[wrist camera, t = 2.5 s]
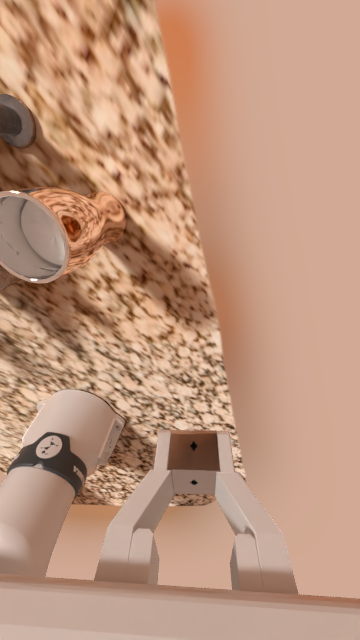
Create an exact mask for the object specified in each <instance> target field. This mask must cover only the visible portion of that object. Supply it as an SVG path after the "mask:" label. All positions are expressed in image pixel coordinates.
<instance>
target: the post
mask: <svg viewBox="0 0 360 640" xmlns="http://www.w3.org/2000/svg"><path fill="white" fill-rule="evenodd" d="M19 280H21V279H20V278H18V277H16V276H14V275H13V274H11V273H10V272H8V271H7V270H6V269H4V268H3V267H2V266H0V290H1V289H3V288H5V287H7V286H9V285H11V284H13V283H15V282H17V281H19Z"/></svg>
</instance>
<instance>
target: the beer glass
mask: <svg viewBox="0 0 360 640" xmlns="http://www.w3.org/2000/svg"><path fill="white" fill-rule="evenodd" d="M125 227H126V216H125V212H124V210H123V207H122V206H121V204H120V203H119V202H118V200H117V199H116V198H114V197H113V196H112V195H110V194H108V193H105V192H100V191H97V192H92V193H90V194H88V195H87V196H85V195H83V194H80V193H77V192H74V191H71V190H67V189H62V188H55V187H34V188H25V189H19V190H12V191H11V190H7V191H1V192H0V265H1V266H2V267H3V268H4V269H6V270H7V271H8V272H10V273H11V274H13V275H14V276H16V277H18V278H20V279H22V280H25V281H28V282H32V283H48V282H51V281H54V280H56V279H57V278H59V277H61V276H64V275H66V274H68V273H70V272H73V271H75V270H76V269H78V268H80V267H82V266H83V265H85V264H86V263H87V262H89V261H90V260H91V259H92V258H93V257H94V256H95V255H96V254H97V253H98V252H99V250H100V249H101V248H102V246H103V245H104V244H105V243H112V242H114V241H116V240H118V239H119V238H120V237H121V236H122V234H123V233H124V230H125Z"/></svg>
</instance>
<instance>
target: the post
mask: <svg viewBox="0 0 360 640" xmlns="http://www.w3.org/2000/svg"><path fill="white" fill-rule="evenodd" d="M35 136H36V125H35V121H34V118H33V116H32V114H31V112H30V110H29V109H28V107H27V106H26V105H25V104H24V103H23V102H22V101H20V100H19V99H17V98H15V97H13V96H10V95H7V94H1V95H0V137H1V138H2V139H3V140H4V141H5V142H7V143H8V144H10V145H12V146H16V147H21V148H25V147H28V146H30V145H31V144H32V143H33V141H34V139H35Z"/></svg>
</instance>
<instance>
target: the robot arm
mask: <svg viewBox="0 0 360 640" xmlns="http://www.w3.org/2000/svg"><path fill="white" fill-rule="evenodd" d="M37 410H38V412H39V413H38V414H37V416H36V417H35V419H34V420H33V422H32V424H31V425H30V427H29V428H28V430H27V432H26V433H25V435H24V436H23V438H22V442H23V446H24V447H23V448H22V449H21V451H20V452H19V454H18V455H17V456H16V457H15V458H14V460H13V461H12V463H11V465H10V467H9V469H8V470H7V476H6V477H5V479H4V481H3V482H2V483H1V485H0V640H360V599H355V598H342V597H326V596H312V595H298V591H297V587H296V583H295V579H294V575H293V571H292V568H291V563H290V559H289V555H288V552H287V548H286V544H285V539H284V535H283V534H282V532H281V531H280V530H279V528H278V527H277V525H276V524H275V523H274V521H273V520H272V518H271V517H270V516H269V514H268V513H267V511H266V510H265V509H264V507H263V506H262V505H261V503H260V502H259V500H258V499H257V497H256V496H255V495H254V493H253V492H252V491H251V489H250V488H249V486H248V485H247V484H246V482H245V481H244V479H243V478H242V477H241V475H240V474H239V472H235V470H234V463H233V456H232V449H231V442H230V434H229V432H228V431H203V430H194V431H187V430H160V431H159V435H158V442H157V449H156V456H155V463H154V469H150V470H149V471H148V473H147V474H146V475H145V477H144V478H143V480H142V481H141V482H140V484H139V485H138V486H137V488H136V489H135V490H134V492H133V493H132V494H131V496H130V497H129V498H128V500H127V501H126V502H125V504H124V505H123V506H122V508H121V509H120V510H119V512H118V513H117V514H116V516H115V517H114V518H113V520H112V521H111V522H110V524H109V525H108V528H107V532H106V536H105V540H104V544H103V548H102V552H101V555H100V560H99V564H98V567H97V571H96V575H95V579H94V581H92V580H78V579H64V578H49V577H45V576H46V572H47V568H48V564H49V561H50V558H51V555H52V552H53V549H54V546H55V544H56V541H57V538H58V536H59V533H60V531H61V528H62V526H63V523H64V520H65V518H66V515H67V513H68V511H69V508H70V506H71V504H72V501H73V499H75V498H76V497H77V495H78V493H79V492H80V491H81V489H82V487H83V485H84V482H85V480H86V478H87V476H89V475H91V474H93V473H94V472H95V470H96V467H97V465H98V464H101V465H104V466H106V463H107V460H108V458H109V457H110V456H111V454H112V452H113V450H114V447H115V445H116V443H117V441H118V438H119V436H120V434H121V431H122V429H123V427H124V424H125V420H124V419H123V418H122V417H121V416H119V415H117V414H116V413H115V412H114V411H113V410H112V409H111V408H110V406H109V405H108V404H107V403H105V402H104V401H103V400H102V399H100V398H99V397H97V396H95V395H93V394H91V393H88V392H85V391H81V390H73V389H68V390H62V391H59V392H57V393H55V394H54V395H52V396H51V397H50V398H49V399H47V400H43V401H40V402H39V404H38V405H37ZM174 494H203V495H215V498H216V499H217V501H218V503H219V505H220V507H221V509H222V511H223V512H224V515H225V516H226V518H227V520H228V522H229V524H230V526H231V528H232V529H233V531H234V533H235V535H236V537H235V540H234V545H233V550H232V556H231V560H230V568H231V581H232V590H225V589H209V588H195V587H180V586H166V585H157V581H158V569H159V556H158V552H157V548H156V544H155V540H154V536H153V532H154V530H155V529H156V527H157V525H158V523H159V521H160V520H161V518H162V516H163V514H164V512H165V511H166V509H167V507H168V505H169V503H170V502H171V500H172V498H173V496H174Z"/></svg>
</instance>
